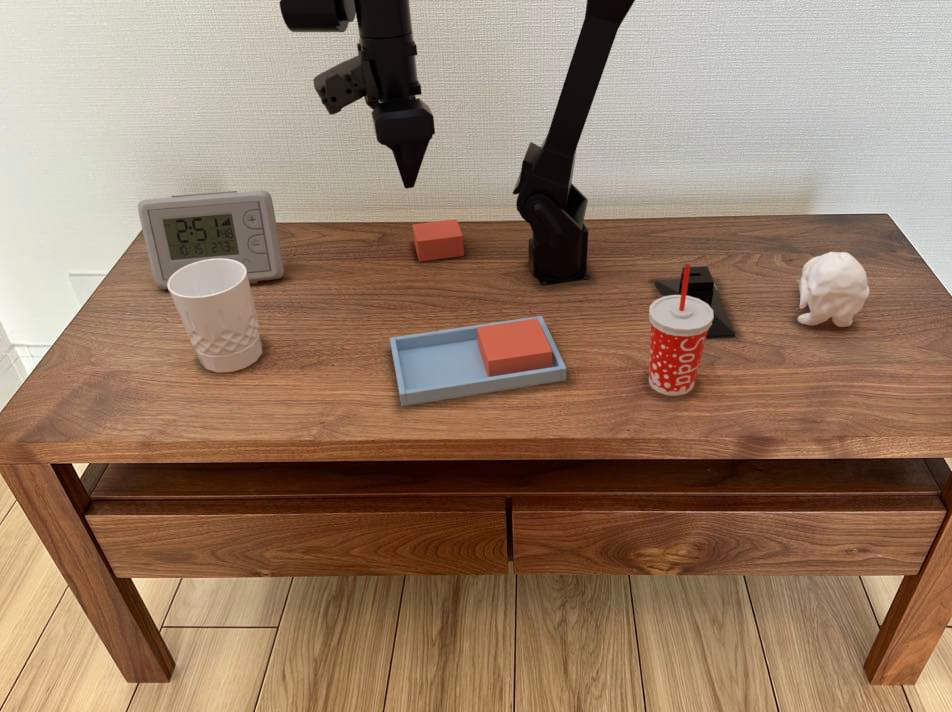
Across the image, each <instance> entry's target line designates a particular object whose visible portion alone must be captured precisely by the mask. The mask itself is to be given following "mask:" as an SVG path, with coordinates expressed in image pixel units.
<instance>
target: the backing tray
mask: <svg viewBox="0 0 952 712" xmlns="http://www.w3.org/2000/svg"><path fill="white" fill-rule="evenodd" d="M530 319H538V321H539V323H540V325H541V328H542V330H543V332H544V334H545V336H546V338H547V341H548V343H549V345H550V347H551V349H552V367H550V368H544V369H538V370H531V371H525V372H518V373H512V374H505V375H499V376H493V377H488V375H487V372H486V369H485V366H484V363H483V360H482V357H481V354H480V351H479V348H478V340H477V327H482V326H489V325H496V324H503V323H509V322H516V321H523V320H530ZM389 343H390V349H391V356H392V360H393V366H394V372H395V377H396V385H397V389H398V394H399V400H400V406H401V407H406V406H413V405H420V404H425V403H431V402H437V401H444V400H450V399H456V398H463V397H468V396H475V395H481V394H488V393H494V392H500V391H507V390H513V389H514V390H515V389H520V388H527V387H531V386H533V387H534V386H539V385H544V384H545V385H546V384H552V383H557V382H563V381H567V369H568V368H567V366H566V364H565V362H564V360H563V358H562V356H561V353H560V351H559V349H558V347H557V345H556V343H555V340H554V339H553V337H552V334H551V332H550V331H549V328H548V326H547V324H546V322H545V319H544V318H543V316H542V315H537V316H531V317H524V318H516V319H509V320H501V321H495V322H490V323H489V322H488V323H481V324H475V325H468V326H461V327H453V328H448V329H447V328H446V329H440V330H434V331H427V332H426V331H425V332H420V333H413V334H406V335H399V336H392V337H389Z"/></svg>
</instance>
